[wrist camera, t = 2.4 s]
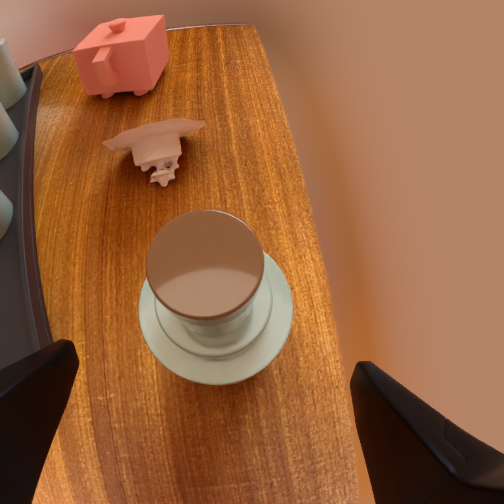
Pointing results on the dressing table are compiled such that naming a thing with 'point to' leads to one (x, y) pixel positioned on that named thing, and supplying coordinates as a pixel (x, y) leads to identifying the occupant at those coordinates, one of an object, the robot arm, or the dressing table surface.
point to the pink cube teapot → (123, 56)
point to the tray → (21, 239)
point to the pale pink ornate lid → (156, 145)
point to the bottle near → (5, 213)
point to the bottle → (213, 299)
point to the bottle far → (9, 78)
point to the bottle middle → (6, 133)
